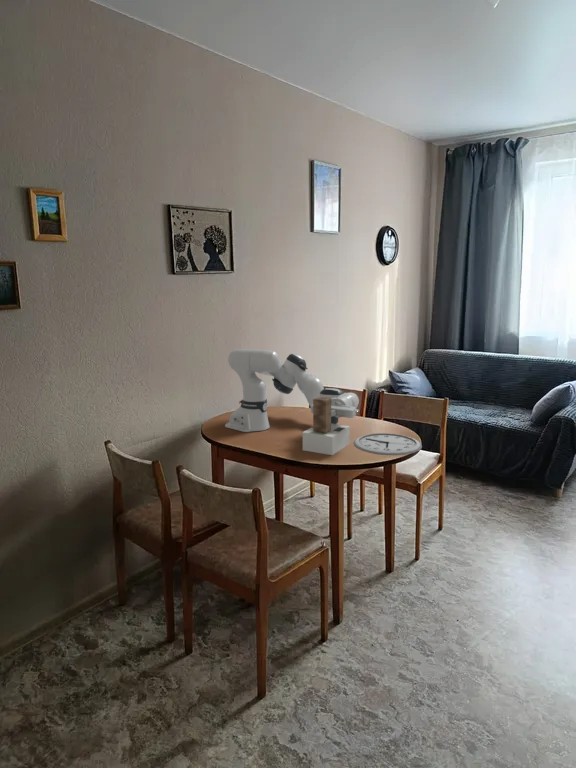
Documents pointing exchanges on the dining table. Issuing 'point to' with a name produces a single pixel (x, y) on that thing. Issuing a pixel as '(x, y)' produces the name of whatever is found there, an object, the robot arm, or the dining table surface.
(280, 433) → the dining table surface
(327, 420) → the walnut post
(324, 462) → the dining table surface
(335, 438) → the box
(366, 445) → the wall clock
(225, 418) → the dining table surface
